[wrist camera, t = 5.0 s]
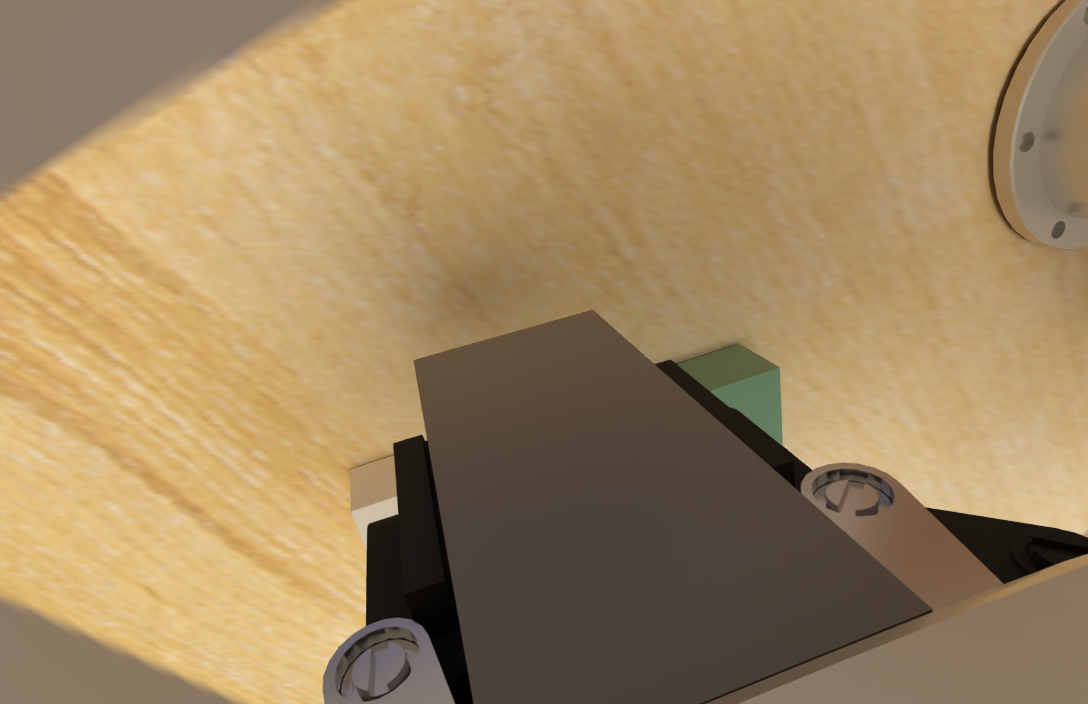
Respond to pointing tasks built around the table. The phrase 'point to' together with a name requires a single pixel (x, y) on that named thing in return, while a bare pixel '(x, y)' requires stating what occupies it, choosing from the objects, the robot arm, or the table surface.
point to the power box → (722, 372)
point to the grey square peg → (626, 531)
